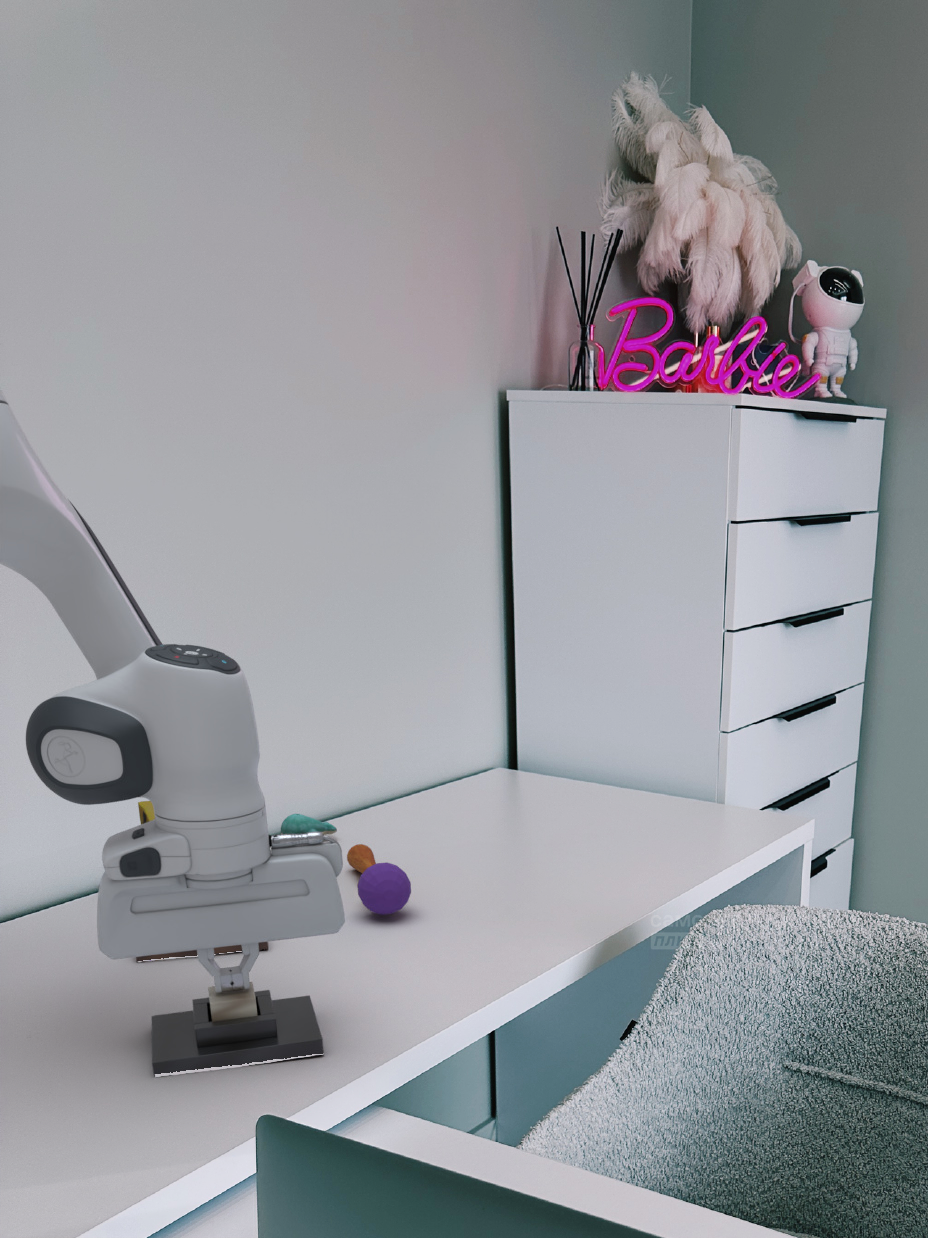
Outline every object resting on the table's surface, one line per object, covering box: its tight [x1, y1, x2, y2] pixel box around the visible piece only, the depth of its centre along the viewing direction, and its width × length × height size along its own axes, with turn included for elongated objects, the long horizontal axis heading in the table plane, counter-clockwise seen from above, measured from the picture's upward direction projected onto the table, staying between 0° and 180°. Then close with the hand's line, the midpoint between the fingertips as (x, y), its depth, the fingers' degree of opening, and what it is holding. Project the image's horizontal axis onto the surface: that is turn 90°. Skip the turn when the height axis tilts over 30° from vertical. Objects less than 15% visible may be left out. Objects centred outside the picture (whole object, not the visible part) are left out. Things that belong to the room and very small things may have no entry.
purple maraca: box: [346, 843, 412, 916], centre depth 151 cm, size 6×6×20 cm
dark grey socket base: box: [151, 989, 325, 1075], centre depth 113 cm, size 14×10×4 cm
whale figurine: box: [280, 813, 338, 836], centre depth 171 cm, size 6×7×4 cm
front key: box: [207, 981, 258, 1022], centre depth 112 cm, size 4×4×2 cm
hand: (232, 989), depth 111 cm, fingers closed
